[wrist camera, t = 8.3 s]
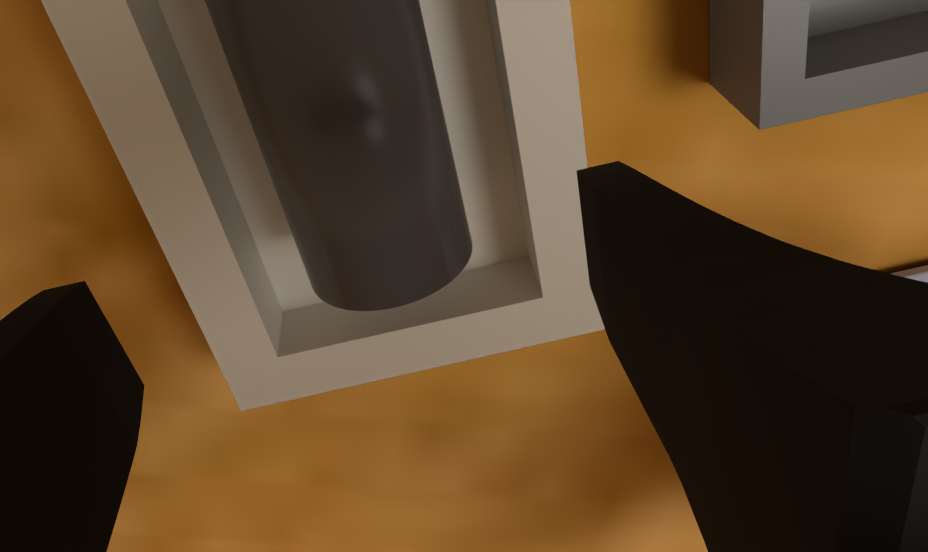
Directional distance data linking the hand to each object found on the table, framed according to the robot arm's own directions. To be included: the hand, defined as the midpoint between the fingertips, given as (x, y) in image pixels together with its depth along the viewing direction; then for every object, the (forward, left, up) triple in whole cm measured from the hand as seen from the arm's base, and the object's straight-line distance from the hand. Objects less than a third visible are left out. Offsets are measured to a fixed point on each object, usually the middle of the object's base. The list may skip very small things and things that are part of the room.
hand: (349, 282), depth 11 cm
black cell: (0, 0, -8) cm, 9 cm away
